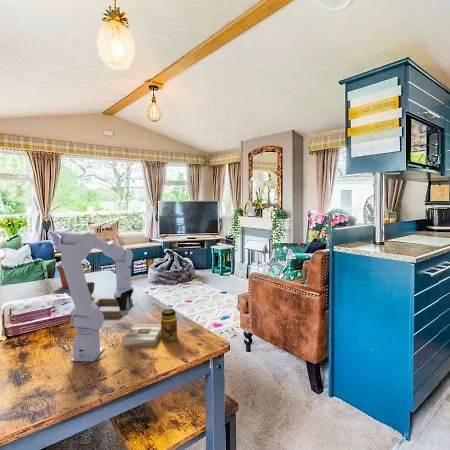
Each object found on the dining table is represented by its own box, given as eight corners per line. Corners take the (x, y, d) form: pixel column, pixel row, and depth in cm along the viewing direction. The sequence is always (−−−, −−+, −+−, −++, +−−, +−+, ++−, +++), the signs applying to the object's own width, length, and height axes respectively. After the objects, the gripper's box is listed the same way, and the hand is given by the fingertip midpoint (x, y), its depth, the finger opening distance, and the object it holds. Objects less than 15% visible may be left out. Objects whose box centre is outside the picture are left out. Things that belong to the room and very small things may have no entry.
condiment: (170, 346, 116) (169, 315, 115) (153, 341, 120) (152, 311, 119) (182, 338, 122) (181, 309, 121) (165, 334, 127) (165, 305, 125)
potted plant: (84, 287, 192) (82, 231, 189) (57, 290, 186) (53, 232, 183) (86, 281, 206) (83, 229, 203) (60, 283, 201) (57, 230, 197)
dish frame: (119, 317, 143) (119, 311, 143) (82, 317, 143) (82, 311, 143) (132, 304, 161) (132, 298, 161) (99, 304, 162) (99, 298, 161)
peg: (127, 315, 127) (127, 297, 127) (119, 315, 128) (118, 297, 127) (130, 312, 131) (129, 294, 130) (122, 312, 131) (121, 294, 130)
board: (154, 345, 116) (154, 339, 115) (123, 345, 116) (122, 339, 116) (163, 329, 129) (163, 324, 129) (135, 329, 130) (134, 324, 130)
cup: (89, 299, 168) (89, 285, 168) (77, 299, 170) (77, 284, 169) (97, 295, 176) (97, 281, 175) (86, 294, 177) (85, 281, 176)
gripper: (127, 281, 121) (128, 315, 122) (138, 272, 135) (139, 302, 136) (109, 281, 121) (110, 315, 122) (122, 272, 135) (123, 302, 136)
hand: (124, 308), depth 129 cm, fingers closed on peg, 3 cm apart
